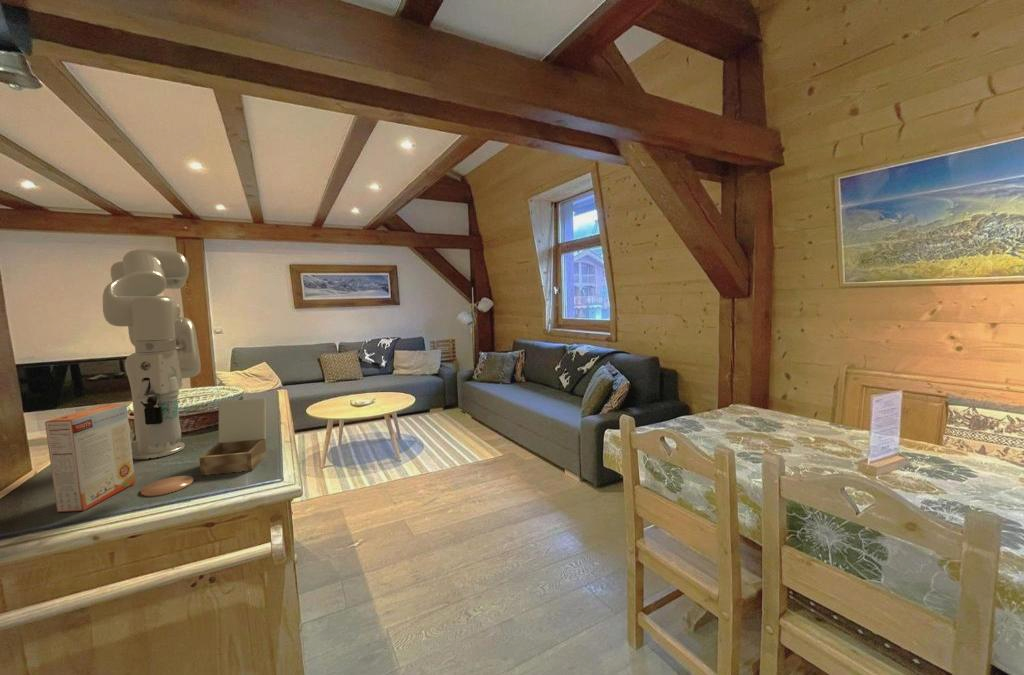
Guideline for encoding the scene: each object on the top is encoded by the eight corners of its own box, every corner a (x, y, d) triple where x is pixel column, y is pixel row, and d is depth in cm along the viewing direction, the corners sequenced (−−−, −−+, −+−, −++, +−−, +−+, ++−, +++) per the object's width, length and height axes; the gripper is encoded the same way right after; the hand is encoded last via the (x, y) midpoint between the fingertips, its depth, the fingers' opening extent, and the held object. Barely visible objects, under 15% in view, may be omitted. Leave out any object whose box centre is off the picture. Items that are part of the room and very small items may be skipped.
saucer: (130, 498, 95) (130, 496, 95) (155, 480, 104) (155, 478, 104) (181, 493, 97) (180, 490, 97) (200, 476, 107) (200, 473, 107)
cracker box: (111, 484, 102) (103, 403, 100) (136, 483, 103) (129, 403, 101) (53, 513, 88) (42, 420, 87) (83, 512, 89) (73, 419, 87)
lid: (219, 459, 118) (215, 403, 117) (225, 455, 122) (221, 400, 120) (265, 455, 121) (262, 400, 120) (269, 450, 125) (266, 397, 124)
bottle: (189, 441, 102) (184, 363, 101) (162, 450, 96) (155, 366, 95) (168, 440, 104) (162, 363, 103) (139, 449, 97) (133, 366, 96)
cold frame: (200, 476, 107) (199, 457, 107) (220, 459, 119) (219, 442, 118) (252, 470, 110) (250, 453, 110) (266, 454, 122) (265, 438, 121)
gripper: (153, 350, 91) (160, 429, 92) (192, 343, 107) (197, 410, 109) (112, 351, 89) (120, 432, 90) (158, 344, 105) (163, 412, 107)
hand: (162, 419), depth 99 cm, fingers closed on bottle, 6 cm apart
